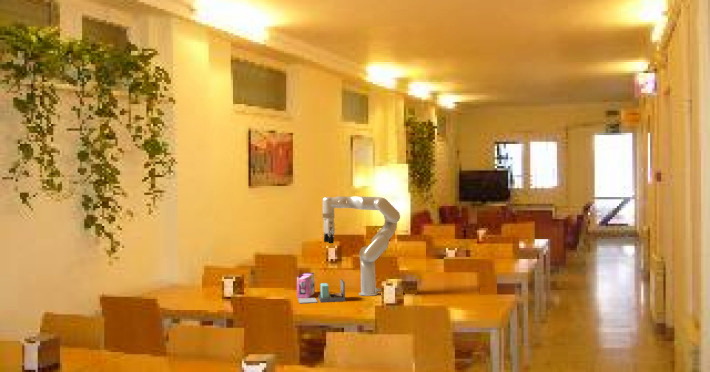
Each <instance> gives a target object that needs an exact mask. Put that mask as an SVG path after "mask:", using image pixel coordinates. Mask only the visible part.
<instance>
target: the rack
mask: <svg viewBox="0 0 710 372" xmlns="http://www.w3.org/2000/svg"><path fill="white" fill-rule="evenodd" d="M339 280H340V294H341V295H342V297H336V298H334V293H329V298H321V294H318V297H317V298H318V301H319V302H320V303H336V302H338V303H340V302H346V287H345V285H346V284H345V283H346V282H345V281H344V280H343V278H340V279H339Z"/></svg>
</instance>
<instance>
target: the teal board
mask: <svg viewBox="0 0 710 372" xmlns="http://www.w3.org/2000/svg"><path fill="white" fill-rule="evenodd" d="M329 289H330V287H329V284H328V283H327V282H324V283H323V282H322V283H320V295H321V298H329V294H330V292H329V291H330V290H329Z"/></svg>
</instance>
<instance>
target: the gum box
mask: <svg viewBox="0 0 710 372" xmlns="http://www.w3.org/2000/svg"><path fill="white" fill-rule="evenodd" d="M315 293H316V287H315V272H303V273H301V274H300V275H297V277H296V298H297V299H301V298H311V297H312V296H313V295H314V294H315Z"/></svg>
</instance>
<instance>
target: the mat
mask: <svg viewBox="0 0 710 372" xmlns="http://www.w3.org/2000/svg"><path fill="white" fill-rule="evenodd" d="M297 301H298V302H299V303H298V304H300V305H301V304H303V305H304V304H318V300H317V299H316V297H309V298H297Z"/></svg>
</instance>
